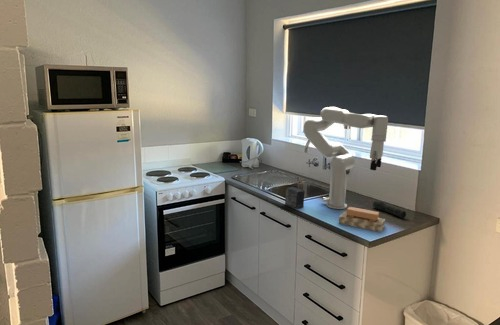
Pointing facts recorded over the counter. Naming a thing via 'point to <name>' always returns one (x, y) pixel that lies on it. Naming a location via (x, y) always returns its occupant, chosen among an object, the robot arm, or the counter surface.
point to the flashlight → (388, 209)
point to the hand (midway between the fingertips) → (375, 168)
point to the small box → (294, 197)
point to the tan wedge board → (362, 213)
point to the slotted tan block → (362, 222)
